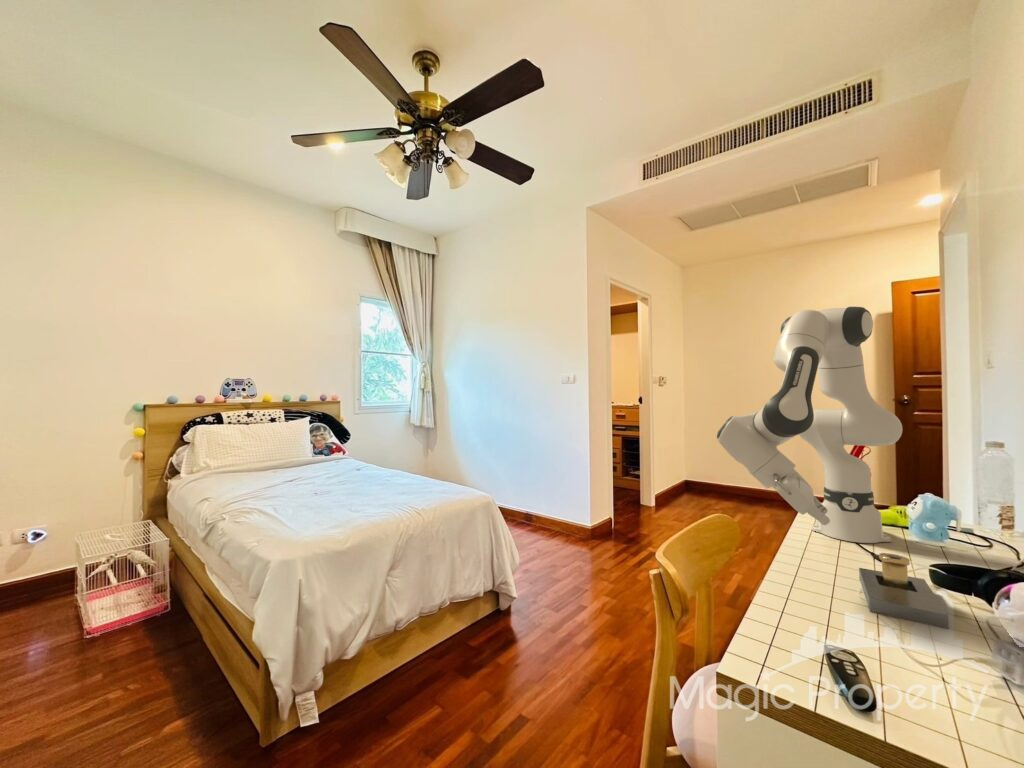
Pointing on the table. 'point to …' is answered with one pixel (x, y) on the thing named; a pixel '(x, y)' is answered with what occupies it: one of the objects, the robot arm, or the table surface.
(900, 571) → the bushing
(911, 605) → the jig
